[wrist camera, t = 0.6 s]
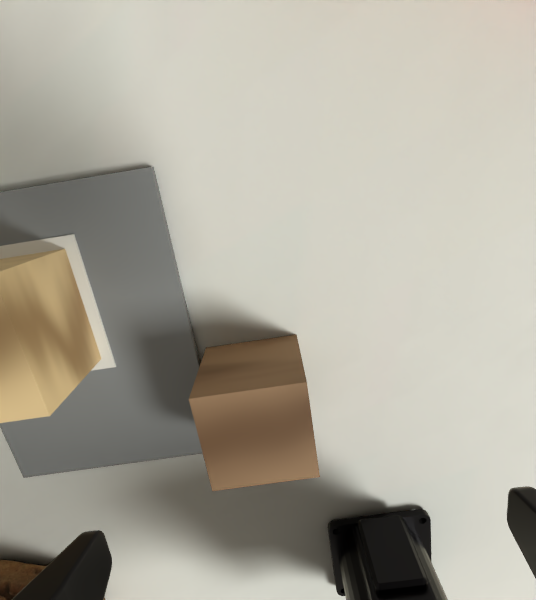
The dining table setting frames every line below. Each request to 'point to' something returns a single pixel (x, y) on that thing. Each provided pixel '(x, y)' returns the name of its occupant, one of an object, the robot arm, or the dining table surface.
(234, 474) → the walnut cube
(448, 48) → the dining table surface
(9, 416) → the oak base block
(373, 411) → the dining table surface
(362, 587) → the robot arm
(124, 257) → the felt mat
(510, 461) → the dining table surface
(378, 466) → the dining table surface
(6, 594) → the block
